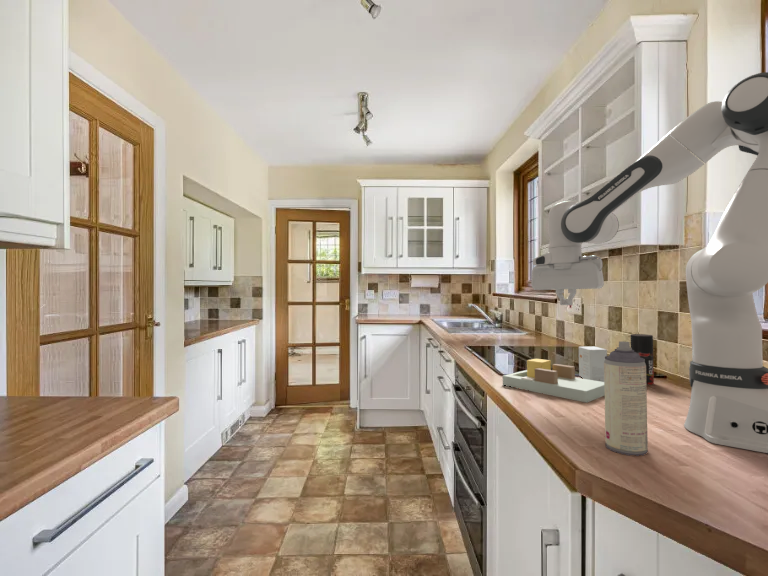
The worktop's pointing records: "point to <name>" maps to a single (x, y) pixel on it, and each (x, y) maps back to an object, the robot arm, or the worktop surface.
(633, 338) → the deodorant
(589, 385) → the board
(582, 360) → the small box
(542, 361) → the block
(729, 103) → the robot arm
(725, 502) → the worktop surface
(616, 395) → the aerosol can
